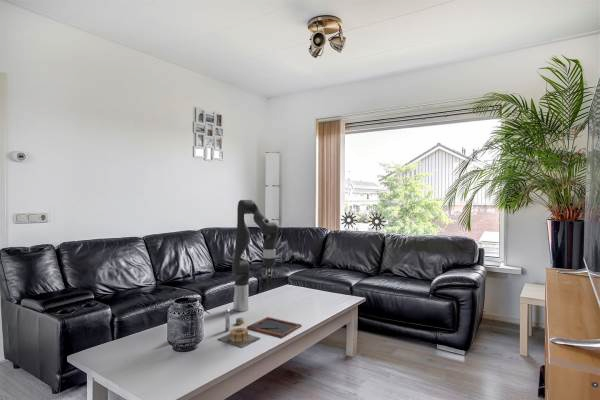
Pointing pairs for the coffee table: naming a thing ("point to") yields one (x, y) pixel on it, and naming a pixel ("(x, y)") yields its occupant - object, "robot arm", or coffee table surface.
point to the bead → (239, 321)
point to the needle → (227, 320)
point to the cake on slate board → (239, 337)
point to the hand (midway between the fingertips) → (269, 283)
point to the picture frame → (274, 327)
